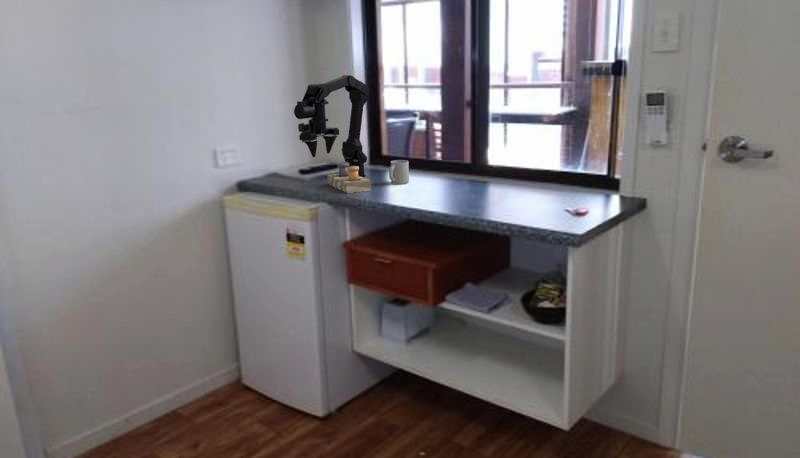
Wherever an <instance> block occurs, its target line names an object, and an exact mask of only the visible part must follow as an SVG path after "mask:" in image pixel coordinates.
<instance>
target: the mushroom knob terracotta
mask: <svg viewBox="0 0 800 458" xmlns="http://www.w3.org/2000/svg"><path fill="white" fill-rule="evenodd" d="M347 170H348V176H349V181H358V170H359V167H358V166H349V167H347Z"/></svg>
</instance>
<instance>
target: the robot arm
mask: <svg viewBox="0 0 800 458" xmlns="http://www.w3.org/2000/svg"><path fill="white" fill-rule="evenodd" d="M343 88H344V89H345V91H346V92H347V93H348V98H349V100H350V101H349V102H350V103H351V110H350V117H349V118H350V119H349V127H348V135H347V136H348V137H347V139H346V140H345V141H344V140H343V141H342V143H341V144H342V146H341V147H342V148H341V155H342V156H343V159H344V163H349V166H358V167H359V170H358V176H361V177H363V178H365V177H367V175H366V174H365V163H367V160H368V156H367V155H366V154H365V153H364V151H363V144H362V142H361V139H360V138H361V130H362V121H363V113H364V106H365V105H366V103H367V102H368V99H369V95H370V88H369V86H368V85H367V84H366V83H364V82H362V81H361V80H359V79H357V78H356V77H355V76H353V75H351V74H347V75H346V74H343V75H341V77H337V78H334V79H330V80H328V81H327V82H323V83H322V82H321V83H311V84H309V85H307V89H306V90H305V93H304V95H303V98H302V100H298V101H296V105H295V106H294V109H293V114H294V117H296V119H298V120H306V119H309V120H308V123H306V124H305V123H304V122H301V123H299V124H298V125H297V129H298V132H300V134H299V136H298V138H299V141H301V142H302V143H304V144H305V145H306V146H307V147H308V149H309V153H310V154H311V157H312V158H315V157H316V155H317V147H318V140H317V139H318V138H319V137H322V138H323V139H324V142H325V150H326V154H330V153H331V150H332V148H333V145H334V143H335V142H336V139H337V138H338V136H339V135H340V129H339V128H338V127H330V126H328V127H327V122H329V118H326V117H327V116H326V115H327V114H326V105H328V104H329V101H328V100H326V98H327V97H329V96H330V94H331V93H332V92H335V91H338V90H340V89H343ZM349 166H348V167H349Z"/></svg>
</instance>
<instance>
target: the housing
mask: <svg viewBox="0 0 800 458" xmlns="http://www.w3.org/2000/svg"><path fill="white" fill-rule="evenodd" d="M371 181H372V180H371V179H368V178H365V177H361V176H358V181H349V176H348V177H339V173H337V174H335V173H334V174H327V184H329V185H328V186H330V185H331V186H330V187H332V186H333V187H332V188H334V187H335V188H334V189H336V188H337V190H338V189H339V191H341V190H342V191H341V192H343V191H344V192H343V193H345V192H346V193H345V194H347V193H348V194H354V192H356V193H361V192H362V191H363V192H369V191H371V190H372V189H371V188H372V186H371V185H372V184H371Z"/></svg>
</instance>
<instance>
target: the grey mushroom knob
mask: <svg viewBox="0 0 800 458" xmlns="http://www.w3.org/2000/svg"><path fill="white" fill-rule="evenodd" d="M348 166H349V163H348V162H338V163H337V167H338V174H339V177H348V170H347V167H348Z"/></svg>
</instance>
